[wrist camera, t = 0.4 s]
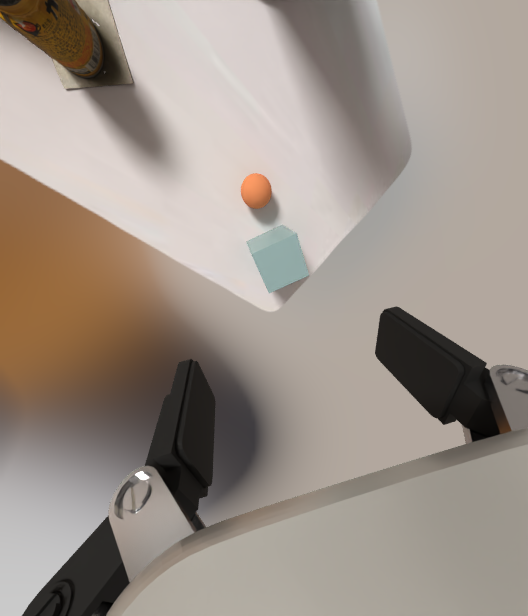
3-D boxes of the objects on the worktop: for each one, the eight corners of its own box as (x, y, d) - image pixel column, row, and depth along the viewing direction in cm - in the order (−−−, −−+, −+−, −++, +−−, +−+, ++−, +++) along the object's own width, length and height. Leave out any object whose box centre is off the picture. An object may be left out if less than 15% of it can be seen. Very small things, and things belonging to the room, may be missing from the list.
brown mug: (24, -5, 22) (-145, -168, 12) (105, -7, 23) (11, -163, 13) (65, 89, 26) (-37, 25, 16) (134, 84, 27) (79, 20, 17)
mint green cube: (246, 241, 39) (251, 254, 32) (282, 224, 39) (296, 233, 31) (261, 275, 43) (269, 293, 36) (294, 260, 43) (309, 275, 35)
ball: (234, 182, 34) (236, 181, 30) (262, 169, 34) (267, 166, 29) (247, 212, 37) (250, 215, 32) (272, 200, 36) (278, 201, 32)
